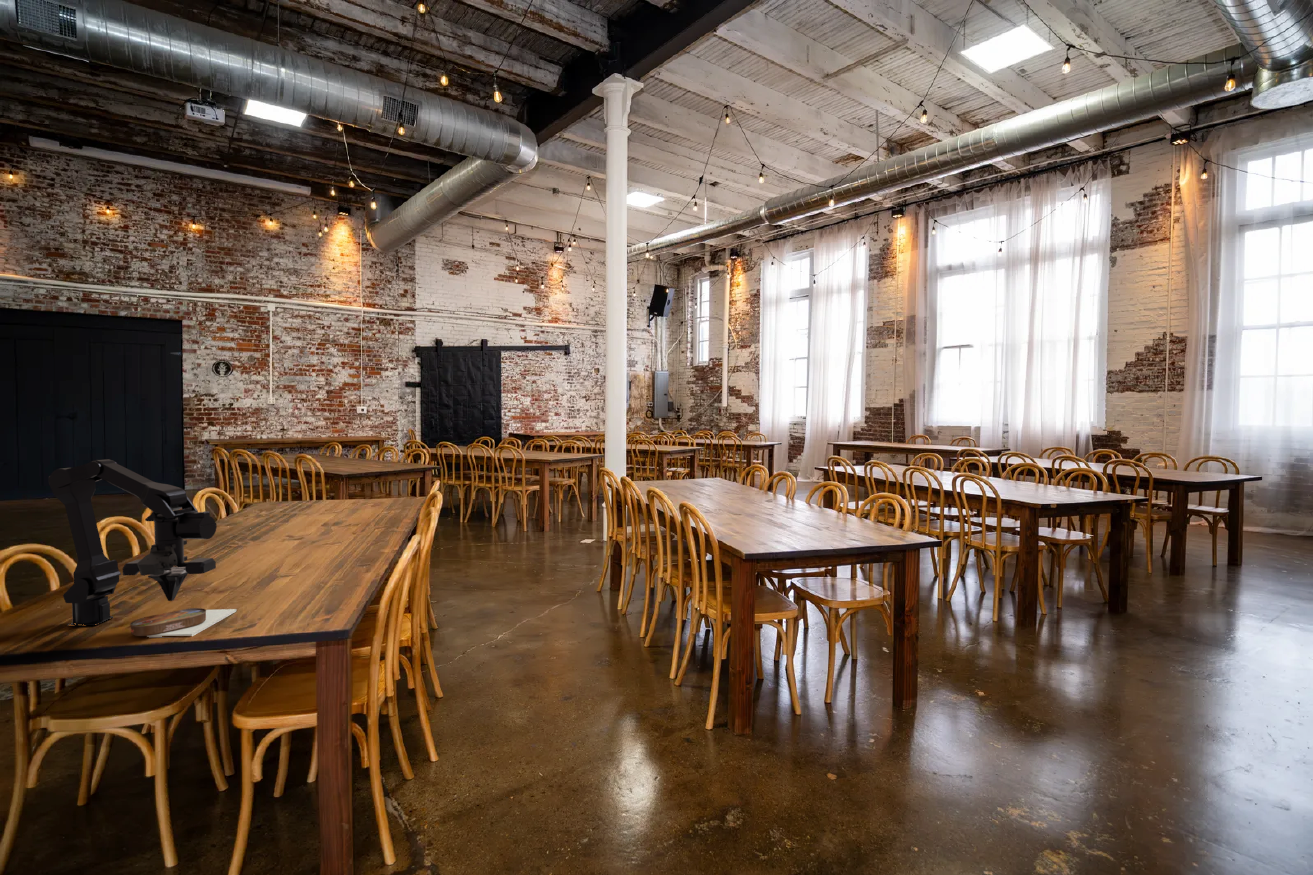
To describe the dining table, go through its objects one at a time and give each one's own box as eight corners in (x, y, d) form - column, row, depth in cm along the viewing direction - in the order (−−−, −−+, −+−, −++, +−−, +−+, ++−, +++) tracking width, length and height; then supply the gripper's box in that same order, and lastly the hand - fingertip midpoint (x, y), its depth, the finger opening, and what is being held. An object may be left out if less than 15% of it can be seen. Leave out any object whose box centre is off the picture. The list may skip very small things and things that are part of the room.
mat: (147, 637, 153) (147, 635, 153) (196, 612, 172) (196, 610, 172) (192, 636, 154) (191, 634, 154) (236, 611, 173) (236, 609, 173)
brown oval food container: (200, 605, 167) (210, 610, 161) (201, 618, 167) (211, 623, 161) (126, 620, 155) (134, 626, 150) (126, 633, 155) (135, 639, 150)
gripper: (104, 546, 152) (106, 611, 152) (188, 544, 154) (190, 609, 154) (137, 536, 163) (139, 598, 164) (216, 535, 165) (217, 596, 165)
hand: (171, 600), depth 161 cm, fingers closed
